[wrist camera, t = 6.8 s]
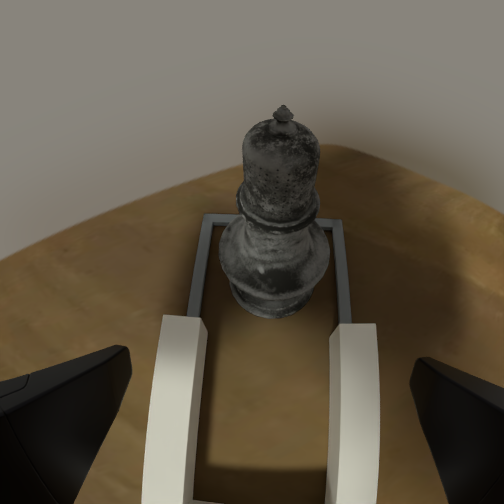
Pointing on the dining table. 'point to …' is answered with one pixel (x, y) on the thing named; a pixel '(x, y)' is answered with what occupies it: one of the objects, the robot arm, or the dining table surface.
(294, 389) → the dining table surface
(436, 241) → the dining table surface
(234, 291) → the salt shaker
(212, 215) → the frame
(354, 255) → the dining table surface
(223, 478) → the dining table surface
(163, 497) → the u-shaped bracket
